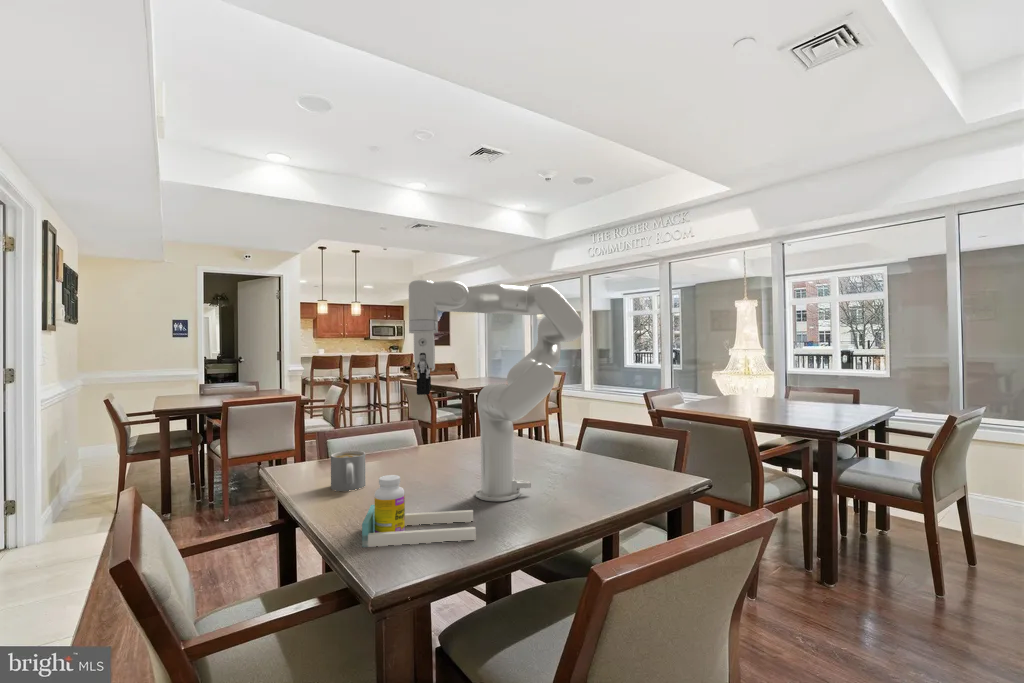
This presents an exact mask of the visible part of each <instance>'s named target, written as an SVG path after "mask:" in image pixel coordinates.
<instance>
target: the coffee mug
mask: <svg viewBox="0 0 1024 683" xmlns="http://www.w3.org/2000/svg"><path fill="white" fill-rule="evenodd" d="M364 486H365V487H366V452H365V451H363V450H344V451H338V452H335V453H332V454H330V490H331V489H332V490H331V491H333V490H336V491H335V492H337V491H349V490H355V489H359V488H362V487H364ZM365 487H364V488H365ZM362 489H363V488H362ZM359 490H360V489H359ZM355 491H356V490H355ZM349 492H350V491H349Z"/></svg>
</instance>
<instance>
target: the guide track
mask: <svg viewBox="0 0 1024 683" xmlns="http://www.w3.org/2000/svg"><path fill="white" fill-rule="evenodd" d="M471 521H473V522H474V510H473V509H466V510H465V509H464V510H462V509H461V510H449V511H448V510H446V511H429V512H409V513H405V527H408V526H407V525H412V526H422V525H421V524H430V525H434V524H433V523H447V524H454V523H453V522H465V523H472V522H471ZM419 524H420V525H419ZM476 532H477V530H476V526H467V527H466V526H465V527H452V528H451V527H449V528H447V527H446V528H432V529H420V530H419V529H417V530H415V529H414V530H405V531H396V532H379V533H375V504H371V505H370V507H369V509H368V511H367V512H366V515H365V517H364V519H363V521H362V523H361V543H362V544H361V546H362V547H361V548H376V546H378V547H389V546H388V545H394V546H403V545H402V544H410V545H419V543H426V544H432V543H431V542H442V543H444V542H443V541H457V540H458V542H462V541H461V540H474V541H476V540H477V533H476Z"/></svg>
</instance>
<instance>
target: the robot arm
mask: <svg viewBox="0 0 1024 683" xmlns="http://www.w3.org/2000/svg"><path fill="white" fill-rule="evenodd" d="M440 311H441V312H449V313H450V312H452V313H453V312H454V313H475V314H476V313H479V314H489V315H490V314H492V315H493V314H496V315H498V314H499V315H500V314H501V315H517V316H536V315H544V317H542V319H541V320H540V321H539V323H538V326H537V342H536V345H535V347H534V348H533V349H532V350H531V351H530V352H529V353H527V354H526V355H525V356H524V357H523V358H521V359H520V360H519V361H518V362H517V363H516V364H514V365H513V366H512V367H511V368H510V369H509V371H508V372H507V376H506V381H507V384H505V383H497V382H496V383H489V384H487V385H485V386H484V387H482V389H481V390H480V391H479V393H478V396H477V401H476V403H477V412H478V417H479V418H478V419H479V429H480V487H479V488H477V489H476V490H475V497H476V498H477V499H479V500H481V501H486V502H507V501H512V500H514V499H517V498H519V497H520V495H521V491H520V490H521V489H531V488H532V483H531V480H529V481H526V480H525V479H523V480H522V479H521V480H518V479H516V477H515V430H514V424H513V422H515V421H518V420H520V419H522V418H523V417H525V416H527V415H528V413H530V412H531V411H532V410H533V409H535V407H536V406H537V405H538V404H539V403H541V401H543V400H544V398H546V397H547V396H548V395H549V393H551V391H552V389H553V388H554V385H555V380H556V377H555V372H554V369H555V368H556V366H557V365H558V364H559V362H560V359H561V348H562V347H561V344H562V343H566V342H574V341H577V340H578V339H579V338H580V337H581V336H582V334H583V332H584V324H583V323H584V322H583V321H582V318H581V317H580V315H579V313H578V312H577V311H576V310H575V308H574V307H573V306H572V305H571V304H570V303H569V302H568V300H567V299H566V298H565V297H564V296H563V295H562V294H561V293H560V292H559V291H558V290H557V289H556V288H555V287H554V286H552V285H550V284H548V283H547V284H545V283H543V284H537V285H534V286H533V285H531V286H527V285H515V284H504V283H490V284H483V285H479V286H478V285H477V286H467V285H466V284H464V283H463V282H461V281H459V280H443V281H432V280H428V279H417V280H412V281H410V282H409V284H408V334H413V360H414V369H415V371H417V373H416V375H417V376H416V394H417V395H418V396H422V395H427V396H428V395H429V394H431V390H432V379H431V378H432V376H431V371H432V372H433V371H435V369H436V357H435V356H436V352H435V349H436V345H435V334H438V333H439V321H438V320H439V316H438V314H439V313H438V312H440Z"/></svg>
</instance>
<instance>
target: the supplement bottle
mask: <svg viewBox="0 0 1024 683" xmlns="http://www.w3.org/2000/svg"><path fill="white" fill-rule="evenodd" d="M400 484H401V476H400V475H397V474H386V475H383V476H380V477H378V485H379V487H378V488H377V489H376V490H375V491H374V496H373V497H374V505H375V531H374V533H379V532H396V531H406V530H405V529H406V528H405V527H406V526H405V514H406V510H405V508H406V507H405V505H406V501H405V499H406V497H405V496H406V495H405V493H406V492H405V489H404V488H403V487H402V486H400Z"/></svg>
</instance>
